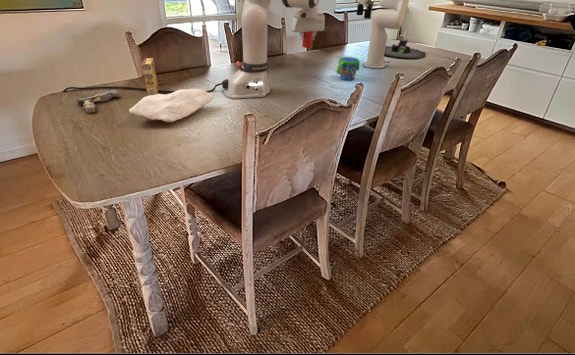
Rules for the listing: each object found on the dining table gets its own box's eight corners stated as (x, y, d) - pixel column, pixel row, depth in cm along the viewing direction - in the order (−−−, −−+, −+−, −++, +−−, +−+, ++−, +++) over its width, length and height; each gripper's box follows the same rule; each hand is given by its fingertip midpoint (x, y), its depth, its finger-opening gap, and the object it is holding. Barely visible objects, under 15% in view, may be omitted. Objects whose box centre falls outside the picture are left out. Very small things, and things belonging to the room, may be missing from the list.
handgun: (128, 97, 156) (111, 87, 164) (86, 107, 144) (70, 97, 152) (129, 103, 157) (113, 94, 165) (88, 114, 146) (72, 103, 154)
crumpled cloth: (117, 110, 146) (113, 90, 140) (195, 92, 166) (194, 73, 160) (143, 139, 134) (140, 118, 128) (223, 116, 154) (224, 96, 148)
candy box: (157, 97, 164) (152, 63, 155) (147, 98, 163) (141, 63, 155) (158, 91, 171) (153, 57, 163) (149, 91, 170) (143, 58, 162)
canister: (310, 48, 205) (311, 32, 200) (301, 47, 205) (302, 31, 201) (311, 46, 209) (313, 30, 204) (303, 45, 210) (304, 29, 205)
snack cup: (351, 73, 205) (353, 55, 200) (364, 79, 198) (367, 60, 193) (329, 77, 198) (331, 58, 192) (342, 83, 191) (344, 63, 185)
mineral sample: (436, 54, 249) (439, 40, 244) (402, 60, 231) (404, 45, 227) (396, 47, 273) (398, 34, 269) (363, 52, 256) (364, 38, 252)
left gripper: (321, 11, 205) (319, 37, 212) (290, 12, 195) (289, 39, 203) (328, 13, 200) (325, 40, 208) (297, 14, 191) (295, 42, 198)
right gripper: (354, -25, 177) (349, 13, 186) (368, -22, 163) (362, 19, 172) (368, -24, 178) (363, 13, 188) (383, -21, 164) (377, 19, 174)
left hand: (307, 39), depth 205 cm, fingers closed on canister, 5 cm apart
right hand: (363, 16), depth 180 cm, fingers open, 9 cm apart
